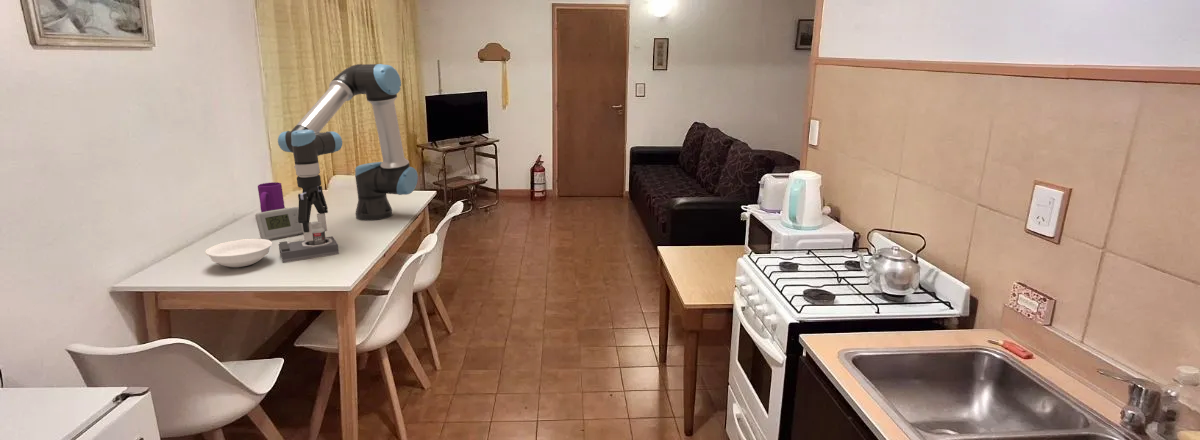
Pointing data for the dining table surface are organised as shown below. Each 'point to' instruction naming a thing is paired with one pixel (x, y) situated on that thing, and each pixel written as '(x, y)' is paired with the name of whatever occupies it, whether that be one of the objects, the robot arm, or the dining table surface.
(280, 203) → the mug
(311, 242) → the pill bottle
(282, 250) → the octagonal hole plate
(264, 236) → the digital clock
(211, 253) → the bowl
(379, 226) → the dining table surface
